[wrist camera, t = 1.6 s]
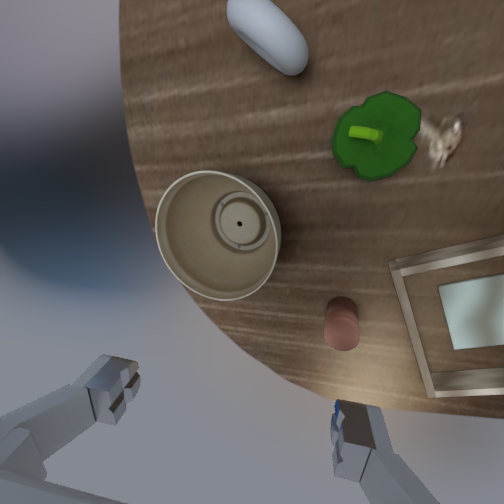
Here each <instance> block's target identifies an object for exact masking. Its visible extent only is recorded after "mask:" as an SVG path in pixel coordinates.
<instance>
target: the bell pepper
mask: <svg viewBox="0 0 504 504" xmlns="http://www.w3.org/2000/svg"><path fill="white" fill-rule="evenodd" d="M420 123H421V109H419V108H418V107H417V106H416V105H415V104H413V103H412V102H411V101H410V100H409V99H407V98H406V97H404V96H400V95H397V94H394V93H391V92H388V91H384V92H381V93H378V94H376V95H373V96H370V97H368V98H367V99H366V100H365V102H364V103H363V104H362V106H352V107H351V108H350V109H349V110H348V111H346V112H345V113H344V114H343V115H342V116H341V117H340V118H339V119H338V122H337V125H336V128H335V131H334V134H333V136H332V152H333V155H334V157H335V158H336V159H337V161H338V162H339V163H340V165H341V166H342V168H353V169H354V171H355V173H356V175H357V177H358V178H361V179H364V180H367V181H374V180H378V179H382V178H386V177H390V176H392V175H393V174H394V173H396V172H397V171H399V170H400V169H401V168H403V167H404V166H406V165H407V164H408V163H409V162H410V161H411V159H412V157H413V156H414V154H415V152H416V151H417V149H418V147H417V146H416V144H415V143H414V141H413V140H412V139H413V138H414V137H415V135H416V134H417V133H418V132H419V130H420Z"/></svg>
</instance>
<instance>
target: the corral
mask: <svg viewBox="0 0 504 504" xmlns="http://www.w3.org/2000/svg"><path fill="white" fill-rule="evenodd" d="M502 255H504V234H502V235H498V236H493V237H489V238H485V239H481V240H476V241H472V242H468V243H464V244H459V245H455V246H451V247H447V248H442V249H438V250H434V251H429V252H425V253H421V254H417V255H412V256H408V257H404V258H400V259H395V260H391V261H387V262H388V265H389V269H390V272H391V276H392V279H393V282H394V286H395V289H396V293H397V296H398V299H399V303H400V306H401V310H402V313H403V316H404V320H405V323H406V327H407V330H408V333H409V337H410V340H411V343H412V347H413V350H414V354H415V357H416V360H417V364H418V367H419V371H420V374H421V377H422V381H423V383H424V386H425V389H426V392H427V395H428V398H431V397H453V396H475V395H497V394H504V367H502V368H489V369H476V370H463V371H450V372H437V373H430V372H429V369H428V365H427V362H426V358H425V355H424V351H423V348H422V344H421V341H420V337H419V334H418V330H417V327H416V323H415V320H414V316H413V313H412V309H411V306H410V302H409V299H408V295H407V292H406V288H405V285H404V281H403V278H402V276H406V275H411V274H416V273H421V272H425V271H430V270H435V269H440V268H444V267H449V266H454V265H459V264H463V263H468V262H473V261H478V260H482V259H487V258H492V257H497V256H502ZM437 286H438V290H439V294H440V298H441V302H442V306H443V310H444V313H445V317H446V321H447V325H448V329H449V333H450V337H451V341H452V344H453V348H454V350H455V349H464V348H474V347H484V346H493V345H503V344H504V273H501V274H496V275H490V276H485V277H480V278H474V279H469V280H464V281H458V282H453V283H448V284H443V285H437Z"/></svg>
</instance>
